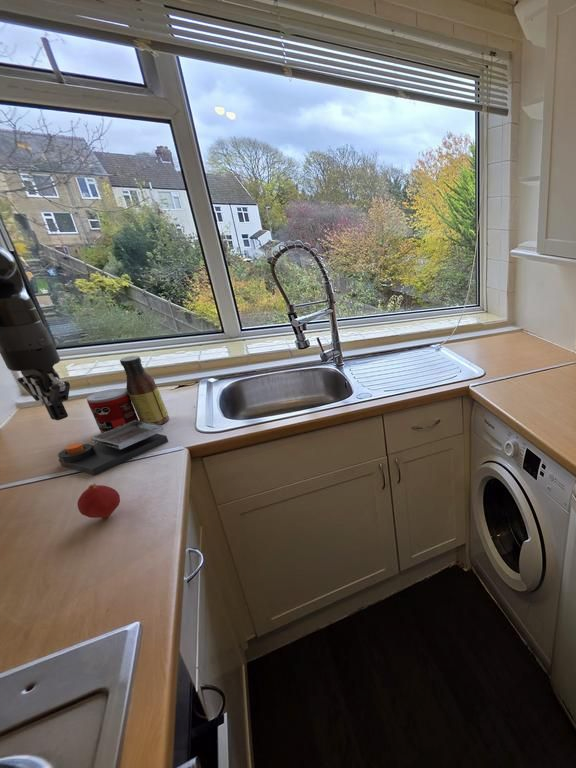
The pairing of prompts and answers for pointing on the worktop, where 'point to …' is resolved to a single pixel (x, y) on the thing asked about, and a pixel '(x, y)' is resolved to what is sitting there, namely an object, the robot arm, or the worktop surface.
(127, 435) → the pan
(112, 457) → the scale
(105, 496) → the onion
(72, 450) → the tare button
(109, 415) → the canned food
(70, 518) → the worktop surface
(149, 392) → the sauce bottle
